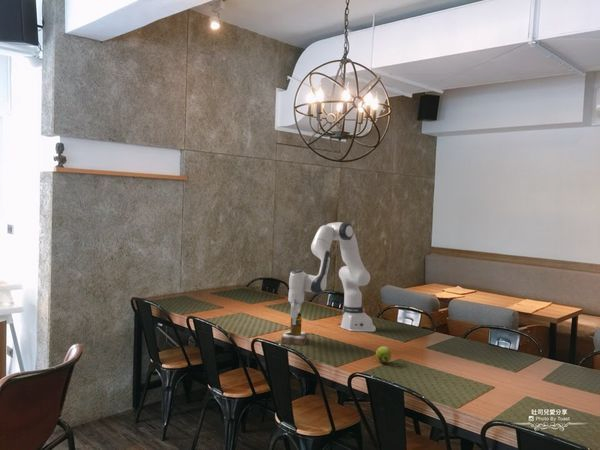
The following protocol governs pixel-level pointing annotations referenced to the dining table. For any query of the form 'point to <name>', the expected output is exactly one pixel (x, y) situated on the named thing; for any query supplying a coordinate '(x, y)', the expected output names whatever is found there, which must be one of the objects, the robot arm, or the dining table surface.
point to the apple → (383, 354)
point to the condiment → (296, 327)
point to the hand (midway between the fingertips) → (295, 322)
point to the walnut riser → (294, 339)
